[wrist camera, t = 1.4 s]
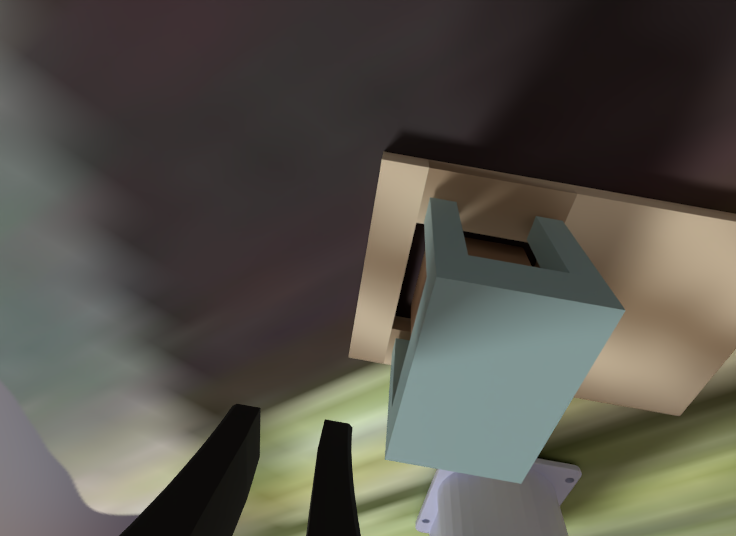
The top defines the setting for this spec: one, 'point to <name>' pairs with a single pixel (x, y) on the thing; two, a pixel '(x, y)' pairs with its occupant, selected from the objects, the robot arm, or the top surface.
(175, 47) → the top surface
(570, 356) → the cover
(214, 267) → the top surface
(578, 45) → the top surface
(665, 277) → the board
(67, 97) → the top surface
